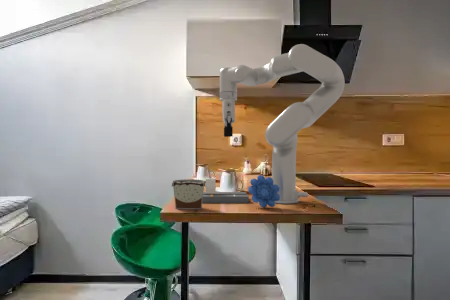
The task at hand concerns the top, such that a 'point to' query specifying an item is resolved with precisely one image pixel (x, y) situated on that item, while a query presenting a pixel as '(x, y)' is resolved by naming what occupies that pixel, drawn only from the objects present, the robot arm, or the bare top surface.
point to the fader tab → (210, 186)
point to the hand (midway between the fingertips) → (228, 136)
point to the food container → (188, 193)
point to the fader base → (226, 197)
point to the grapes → (264, 191)
